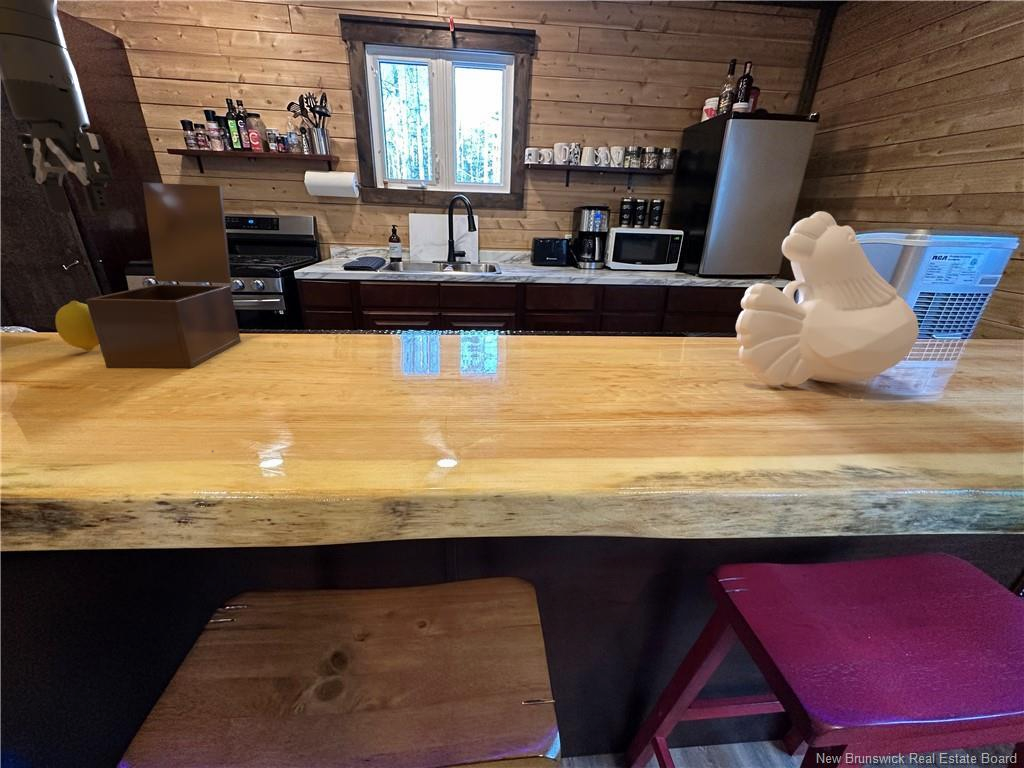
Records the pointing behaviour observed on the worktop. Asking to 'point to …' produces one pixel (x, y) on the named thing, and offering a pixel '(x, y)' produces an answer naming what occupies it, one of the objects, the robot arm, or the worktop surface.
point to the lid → (187, 232)
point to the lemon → (76, 326)
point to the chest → (164, 325)
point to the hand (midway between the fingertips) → (80, 213)
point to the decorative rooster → (824, 313)
